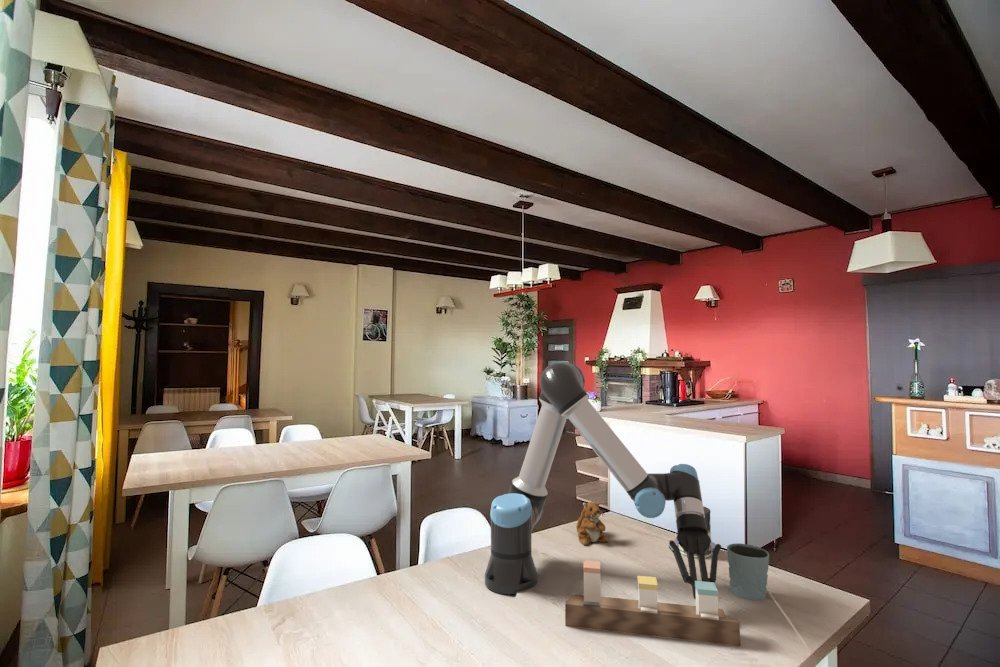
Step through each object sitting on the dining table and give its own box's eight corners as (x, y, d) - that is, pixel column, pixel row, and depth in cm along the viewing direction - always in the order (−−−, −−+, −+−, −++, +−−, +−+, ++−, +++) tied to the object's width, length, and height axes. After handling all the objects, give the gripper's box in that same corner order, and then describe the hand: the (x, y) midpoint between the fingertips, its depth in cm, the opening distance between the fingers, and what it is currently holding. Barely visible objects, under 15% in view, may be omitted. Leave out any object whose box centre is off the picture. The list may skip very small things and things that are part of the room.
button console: (565, 630, 113) (565, 602, 114) (570, 597, 129) (569, 572, 129) (740, 650, 105) (739, 620, 106) (722, 612, 121) (722, 586, 121)
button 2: (699, 635, 109) (698, 589, 110) (695, 625, 113) (694, 580, 114) (719, 637, 108) (718, 590, 109) (714, 627, 112) (713, 582, 113)
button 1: (583, 609, 120) (583, 567, 121) (584, 600, 124) (583, 560, 125) (600, 611, 119) (600, 568, 120) (600, 602, 124) (600, 561, 124)
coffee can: (703, 546, 164) (703, 503, 165) (716, 558, 154) (715, 513, 155) (673, 545, 164) (672, 503, 165) (684, 558, 154) (683, 513, 155)
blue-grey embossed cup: (719, 590, 133) (718, 545, 133) (747, 584, 136) (746, 540, 137) (750, 608, 123) (749, 560, 124) (779, 601, 127) (778, 554, 128)
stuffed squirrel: (584, 547, 163) (583, 507, 164) (568, 532, 177) (568, 496, 178) (611, 544, 166) (610, 505, 166) (593, 530, 179) (593, 494, 180)
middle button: (639, 628, 112) (638, 583, 112) (638, 619, 116) (637, 575, 116) (658, 630, 111) (657, 585, 111) (656, 620, 115) (655, 577, 115)
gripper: (714, 527, 132) (731, 622, 115) (664, 523, 135) (674, 616, 118) (718, 513, 127) (737, 611, 110) (666, 510, 130) (676, 605, 113)
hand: (704, 613), depth 114 cm, fingers closed
